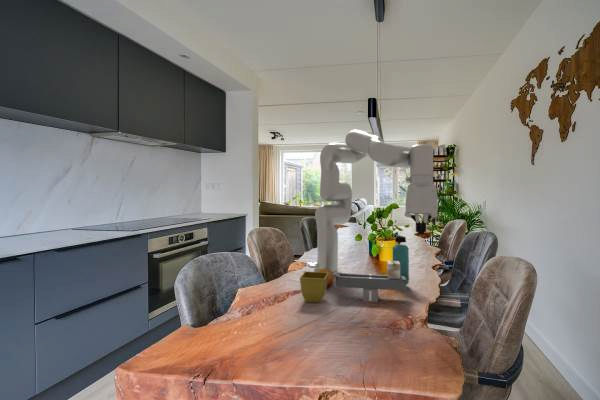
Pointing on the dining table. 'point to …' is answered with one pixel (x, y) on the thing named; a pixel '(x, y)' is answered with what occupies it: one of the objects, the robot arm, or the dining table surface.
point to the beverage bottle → (402, 257)
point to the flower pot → (313, 286)
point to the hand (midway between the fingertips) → (420, 234)
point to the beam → (370, 284)
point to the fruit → (330, 276)
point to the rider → (393, 269)
